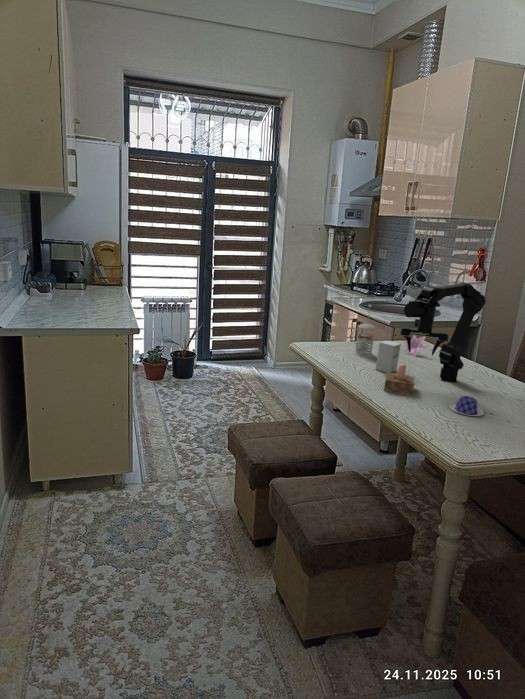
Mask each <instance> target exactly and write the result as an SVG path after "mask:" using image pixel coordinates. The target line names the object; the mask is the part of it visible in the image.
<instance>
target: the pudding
mask: <svg viewBox="0 0 525 699" xmlns="http://www.w3.org/2000/svg"><path fill="white" fill-rule="evenodd" d="M449 408H450V409H451V410H452V411H453V412H455V413H458V414H461V415H465V416H470V417H481V416H483V415H484V411H483V410H482V409H481V408H478V400H477V399H476V398H474V397H471V396H468V395H462V396H461V397H459V398H458V401H457V403H452V404H450V405H449Z"/></svg>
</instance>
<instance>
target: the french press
mask: <svg viewBox="0 0 525 699" xmlns="http://www.w3.org/2000/svg"><path fill="white" fill-rule="evenodd" d="M367 307H368V312H370V309H371V308H373V305H372V304H368V305H367ZM369 318H370V314H368V316H367V319H369ZM359 328H360V329H363V330H365V333H363V332H361V333H359V331H360V329H359ZM375 329H376V327H375V326H374V325H372V324H369V321H367V323H362V324H359V325H358V328H355V329H354V330H353V331H352V333H351V340H352V342H353V343H354V344H355V350H354V351H353V354H354V355H355V356H357V357H362V358H363V357H364V358H372V357H374V354H373V344H374V338H373V337H374V335H373V334H369V333H367V332H368V331H374V330H375ZM356 331H358V336H357V339H356V340H357V341H355V340H354V339H353V336H354V332H356Z"/></svg>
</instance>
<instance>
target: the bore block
mask: <svg viewBox="0 0 525 699" xmlns="http://www.w3.org/2000/svg"><path fill="white" fill-rule="evenodd" d="M396 374H397V373H393V372H391V373H387V372H386V374H385V381H384V386H383V387H384V388H383V391H384V392H390V393H394V394H396V393H397V394H402V395H407V396H413V395H414V394H413V393H414V392H413V391H414V388H415V377H414V376H412V375H411V376H410V375H406V374H405V377H404V380H398V379H396Z"/></svg>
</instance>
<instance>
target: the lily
mask: <svg viewBox="0 0 525 699" xmlns="http://www.w3.org/2000/svg"><path fill="white" fill-rule="evenodd" d="M411 337H412V338H411V349H410V352H409V349H408V343H407V340H404V341H402V344H403V345H404V346H405V347H407V348H406V350H405V351H404V354H408V353H411V355H412V356H413V358H416V357H417V356H418V354H419V350H426V349H427V347H426V346H425V345H423V342H424V341H425V339H426V337H427V336H420V337H418V338H417V335H415V334H413V336H411Z"/></svg>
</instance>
